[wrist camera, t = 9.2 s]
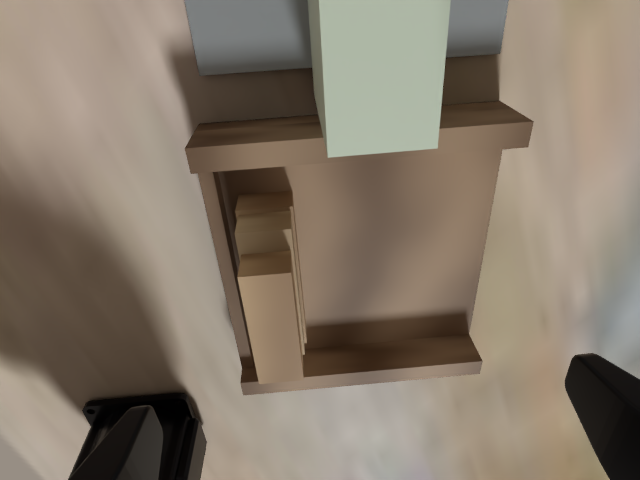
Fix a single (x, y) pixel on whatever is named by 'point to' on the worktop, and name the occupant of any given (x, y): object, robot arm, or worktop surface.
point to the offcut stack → (271, 284)
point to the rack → (366, 239)
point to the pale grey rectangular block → (378, 73)
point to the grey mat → (294, 33)
